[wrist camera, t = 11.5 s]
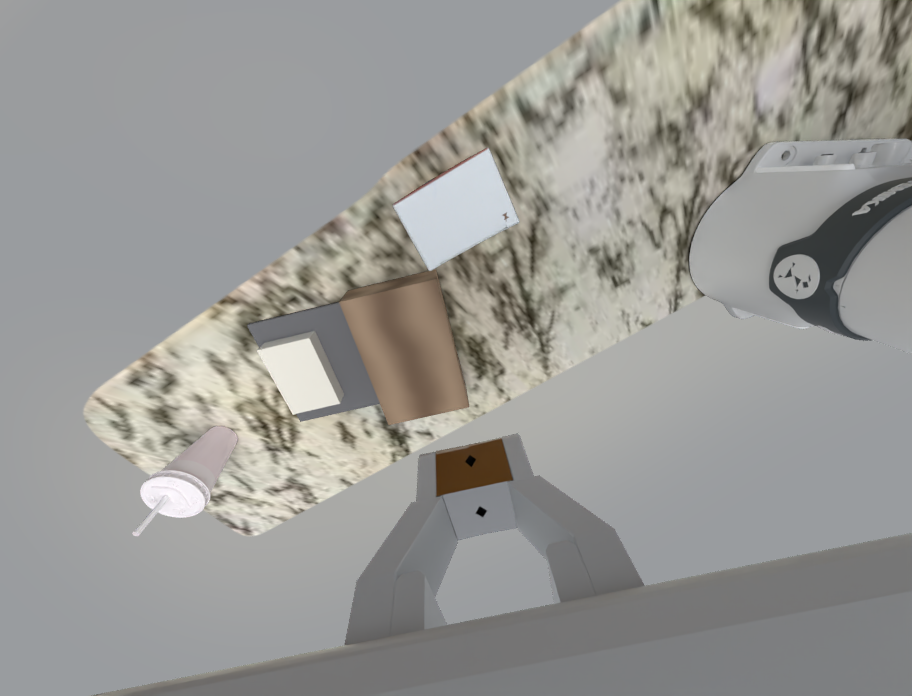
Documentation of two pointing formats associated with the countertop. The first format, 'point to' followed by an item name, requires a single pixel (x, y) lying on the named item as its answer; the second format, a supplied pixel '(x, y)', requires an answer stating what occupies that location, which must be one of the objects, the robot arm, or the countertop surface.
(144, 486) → the smoothie
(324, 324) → the mat
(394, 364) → the brown wooden block
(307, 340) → the tile
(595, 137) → the countertop surface
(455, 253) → the small box
